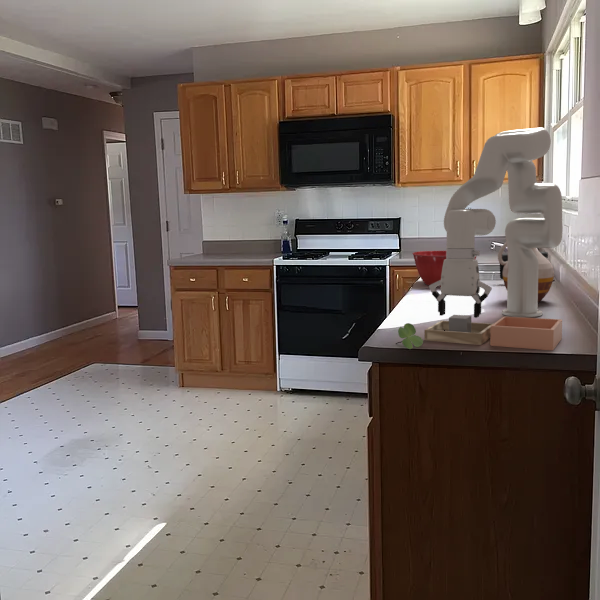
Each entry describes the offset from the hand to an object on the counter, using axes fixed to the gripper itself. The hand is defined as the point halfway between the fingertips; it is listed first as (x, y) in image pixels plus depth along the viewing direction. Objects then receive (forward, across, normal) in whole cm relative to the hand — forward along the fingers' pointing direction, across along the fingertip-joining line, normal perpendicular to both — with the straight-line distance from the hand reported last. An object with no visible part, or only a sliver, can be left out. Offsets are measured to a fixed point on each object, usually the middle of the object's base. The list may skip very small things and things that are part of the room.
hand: (459, 316), depth 183 cm
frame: (+6, 0, -1) cm, 6 cm away
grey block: (+6, 0, -1) cm, 6 cm away
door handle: (+4, +4, -115) cm, 115 cm away
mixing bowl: (+4, +36, -106) cm, 112 cm away
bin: (+6, -18, -1) cm, 19 cm away
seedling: (+7, +13, +14) cm, 20 cm away
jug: (+5, -5, -70) cm, 70 cm away
